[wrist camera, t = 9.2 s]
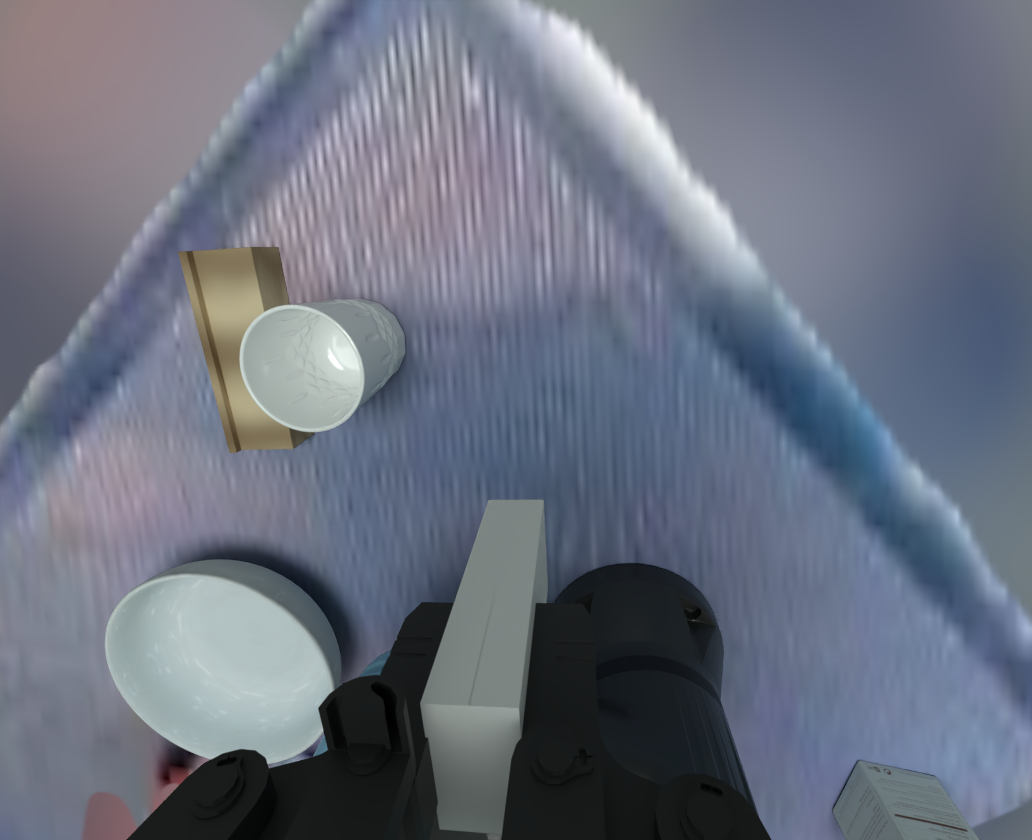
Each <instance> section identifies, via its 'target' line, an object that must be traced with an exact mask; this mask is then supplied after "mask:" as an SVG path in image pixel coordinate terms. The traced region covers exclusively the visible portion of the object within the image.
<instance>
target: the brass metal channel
mask: <svg viewBox="0 0 1032 840" xmlns="http://www.w3.org/2000/svg"><path fill="white" fill-rule="evenodd" d="M178 253H179V257H180V261H181V265H182V269H183V273H184V277H185V281H186V285H187V288H188V292H189V296H190V300H191V304H192V308H193V312H194V316H195V320H196V324H197V327H198V331H199V335H200V339H201V343H202V347H203V351H204V355H205V359H206V363H207V367H208V370H209V374H210V378H211V382H212V386H213V390H214V394H215V398H216V402H217V406H218V410H219V413H220V417H221V421H222V425H223V429H224V433H225V437H226V441H227V445H228V449H229V452H230V453H237V452H238V451H240V450H256V449H294V448H295V447H297V446H298V445H299V444H301V443H302V442H304V441H305V440H306V439H308V438H309V437H311V436H312V435H313V434H315V432H304V431H298V430H294V429H291V428H289V427H286V426H284V425H282V424H280V423H278V422H277V421H275V420H273V419H272V418H271V417H269V416H268V415H267V414H266V413H265V412H264V411H263V410H262V409H261V408H260V407H259V406H258V405H257V404H256V403H255V401H254V400H253V398H252V397H251V395H250V394H249V392H248V390H247V388H246V386H245V383H244V381H243V378H242V374H241V369H240V360H239V355H240V347H241V342H242V339H243V336H244V334H245V332H246V330H247V328H248V327H249V325H250V324H251V323H252V322H253V321H254V320H255V319H256V318H257V317H258V316H259V315H260V314H262V313H263V312H265V311H267V310H269V309H271V308H274V307H277V306H282V305H289V300H288V295H287V290H286V285H285V280H284V275H283V270H282V264H281V259H280V254H279V249H278V247H247V248H233V249H218V250H204V251H184V252H178Z"/></svg>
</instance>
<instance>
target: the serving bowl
mask: <svg viewBox="0 0 1032 840" xmlns="http://www.w3.org/2000/svg"><path fill="white" fill-rule="evenodd" d="M105 652H106V658H107V663H108V667H109V670H110V673H111V675H112V678H113V680H114V682H115V684H116V686H117V688H118V690H119V691H120V693H121V695H122V696H123V698H124V699H125V700H126V702H127V703H128V704H129V706H130V707H131V708H132V709H133V710H134V711H135V712H136V713H137V714H138V715H139V716H140V718H141V719H142V720H143V721H144V722H145V723H147V724H148V725H149V726H150V727H151V728H152V729H154V730H155V731H156V732H158V733H159V734H160V735H162V736H163V737H165V738H166V739H168V740H169V741H171V742H173V743H174V744H176V745H178V746H180V747H182V748H184V749H186V750H188V751H190V752H192V753H195V754H197V755H200V756H202V757H206V758H209V759H213V758H215V757H217V756H219V755H221V754H222V753H226V752H230V751H234V750H238V749H247V750H256V751H257V752H258V753H260V754H261V755H263V756H264V757H265V758H266V761H267V764H270V763H275V762H279V761H283V760H286V759H289V758H291V757H293V756H296V755H298V754H299V753H301V752H303V751H304V750H306V749H307V748H309V747H310V746H311V745H312V744H314V743H315V742H316V741H317V739H318V738H319V737H320V736H321V735H322V733H323V732H324V731H323V727H322V723H321V719H320V714H319V710H318V708H319V706H320V705H321V704H322V702H323V701H324V700H325V699H326V697H327V696H328V695H329V694H330V693H331V692H333V691H334V690H335V689H337V688H338V687H339V686H340V682H341V657H340V651H339V646H338V643H337V639H336V637H335V634H334V632H333V629H332V627H331V625H330V623H329V621H328V620H327V618H326V616H325V615H324V613H323V612H322V610H321V609H320V608H319V606H318V605H317V604H316V603H315V602H314V600H313V599H312V598H311V597H310V596H309V595H308V594H307V593H306V592H304V591H303V590H302V589H301V588H300V587H299V586H297V585H296V584H294V583H293V582H292V581H290V580H289V579H287V578H285V577H284V576H282V575H280V574H278V573H276V572H274V571H272V570H269V569H267V568H264V567H262V566H259V565H255V564H252V563H248V562H243V561H236V560H223V559H216V560H203V561H196V562H191V563H187V564H184V565H180V566H177V567H174V568H172V569H169V570H166V571H164V572H162V573H160V574H158V575H156V576H154V577H152V578H151V579H149V580H147V581H146V582H144V583H142V584H140V585H139V586H137V587H136V588H134V589H133V590H132V591H130V592H129V593H128V594H127V595H126V596H125V597H124V598H123V599H122V600H121V601H120V602H119V603H118V605H117V606H116V608H115V609H114V611H113V613H112V615H111V617H110V619H109V622H108V625H107V629H106V635H105Z"/></svg>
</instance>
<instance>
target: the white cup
mask: <svg viewBox="0 0 1032 840" xmlns="http://www.w3.org/2000/svg"><path fill="white" fill-rule="evenodd" d="M405 354H406V351H405V334H404V332H403V330H402V328H401V326H400V324H399V322H398V321H397V319H396V317H395V316H394V315H393V314H392V313H391V312H390V311H388V310H387V309H386V308H385V307H383V306H382V305H381V304H380V303H376V302H373V301H369V300H365V299H361V298H358V299H352V300H345V299H338V300H324V301H316V302H308V303H299V304H290V305H282V306H277V307H274V308H271V309H269V310H267V311H265V312H263V313H262V314H260V315H259V316H258V317H257V318H256V319H255V320H254V321H253V322H252V323H251V324H250V325H249V327H248V328H247V330H246V332H245V334H244V336H243V339H242V342H241V347H240V355H239V360H240V369H241V374H242V378H243V381H244V383H245V386H246V388H247V390H248V392H249V394H250V395H251V397H252V398H253V400H254V401H255V403H256V404H257V405H258V406H259V407H260V408H261V409H262V410H263V411H264V412H265V413H266V414H267V415H268V416H269V417H271V418H272V419H273V420H275V421H277V422H278V423H280V424H282V425H284V426H286V427H289V428H291V429H294V430H298V431H304V432H321V431H326V430H329V429H332V428H335V427H337V426H339V425H340V424H342V423H343V422H345V421H346V420H347V419H348V418H349V417H350V416H352V415H353V414H354V413H355V412H356V411H357V410H358V409H359V408H360V407H361V406H363V405H364V404H365V403H366V402H367V401H368V400H369V399H370V398H371V397H373V396H374V395H375V394H376V393H377V392H378V391H379V390H380V389H381V388H382V387H383V386H384V385H385V384H386V382H387V381H388V380H389V378H390V377H391V376H392V375H393V374H395V373H396V372H397V371H398V370H399V368H400V365H401V363H402V361H403V358H404V356H405Z"/></svg>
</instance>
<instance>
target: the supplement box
mask: <svg viewBox="0 0 1032 840" xmlns="http://www.w3.org/2000/svg"><path fill="white" fill-rule="evenodd" d="M833 814H834V815H835V818H836V820H837V822H838V824H839V826H840V828H841V831H842V833H843V835H844V837H845V839H846V840H979V839H978V837H977V836H976V835H975V833H974V832H973V830H972V829H971V827H970V826H969V824H968V823H967V821H966V820H965V819H964V817H963V816H962V814H961V813H960V811H959V810H958V808H957V807H956V805H955V804H954V803H953V801H952V800H951V798H950V797H949V795H948V794H947V793H946V791H945V790H944V788H943V787H942V785H941V784H940V782H939V781H938V780H937V778H936V777H934V776H931V775H927V774H923V773H918V772H913V771H909V770H904V769H900V768H895V767H890V766H885V765H880V764H875V763H870V762H865V761H858V762H857V764H856V766H855V768H854V770H853V772H852V774H851V776H850V778H849V780H848V782H847V784H846V786H845V788H844V790H843V792H842V794H841V796H840V797H839V799H838V801H837V803H836V805H835V807H834V809H833Z"/></svg>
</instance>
